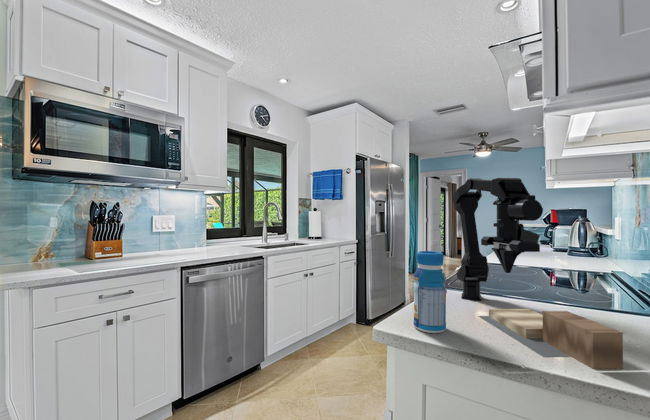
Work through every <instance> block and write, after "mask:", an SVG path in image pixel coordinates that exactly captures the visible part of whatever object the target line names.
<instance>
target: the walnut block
mask: <svg viewBox="0 0 650 420" xmlns="http://www.w3.org/2000/svg"><path fill="white" fill-rule="evenodd" d="M542 315H543V341H544V342H546V343H547V344H549V345H551V346H553V347H555V348H556V349H558V350H560V351H562V352H564V353H565V354H567V355H569V356H571V357H570V358H573V359H575V360H576V361H579V362H580V363H582V364H584V365H585V366H587V367H589V368H591V369H593V370H601V369H603V370H607V369H609V370H610V369H612V370H613V369H618V370H619V369H624V361H623V360H624V351H623V350H624V344H623V343H624V338H623V336H624V333H623V331H620V330H617V329H614V328H612V327H610V326H607V325H604V324H601V323H600V322H596V321H594V320H591V319H588V318H586V317H584V316H581V315H579V314H576V313H574V312H570V311H567V310H552V311H551V310H548V311H547V310H543V311H542Z"/></svg>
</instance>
